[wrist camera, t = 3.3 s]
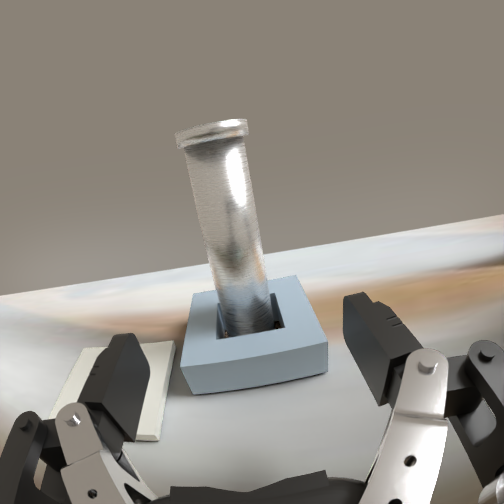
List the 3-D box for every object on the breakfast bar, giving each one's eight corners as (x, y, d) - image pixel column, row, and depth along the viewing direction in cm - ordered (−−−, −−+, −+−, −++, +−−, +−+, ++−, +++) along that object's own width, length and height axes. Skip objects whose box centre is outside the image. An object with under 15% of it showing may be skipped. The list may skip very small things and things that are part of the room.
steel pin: (277, 322, 25) (244, 122, 19) (286, 356, 21) (249, 116, 14) (226, 331, 25) (181, 135, 18) (227, 366, 21) (167, 132, 14)
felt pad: (175, 347, 24) (173, 340, 23) (159, 440, 14) (154, 434, 14) (87, 354, 24) (84, 348, 23) (51, 429, 14) (46, 423, 14)
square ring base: (285, 271, 34) (282, 248, 33) (327, 371, 18) (327, 341, 17) (205, 286, 34) (199, 264, 33) (193, 394, 18) (179, 366, 17)
